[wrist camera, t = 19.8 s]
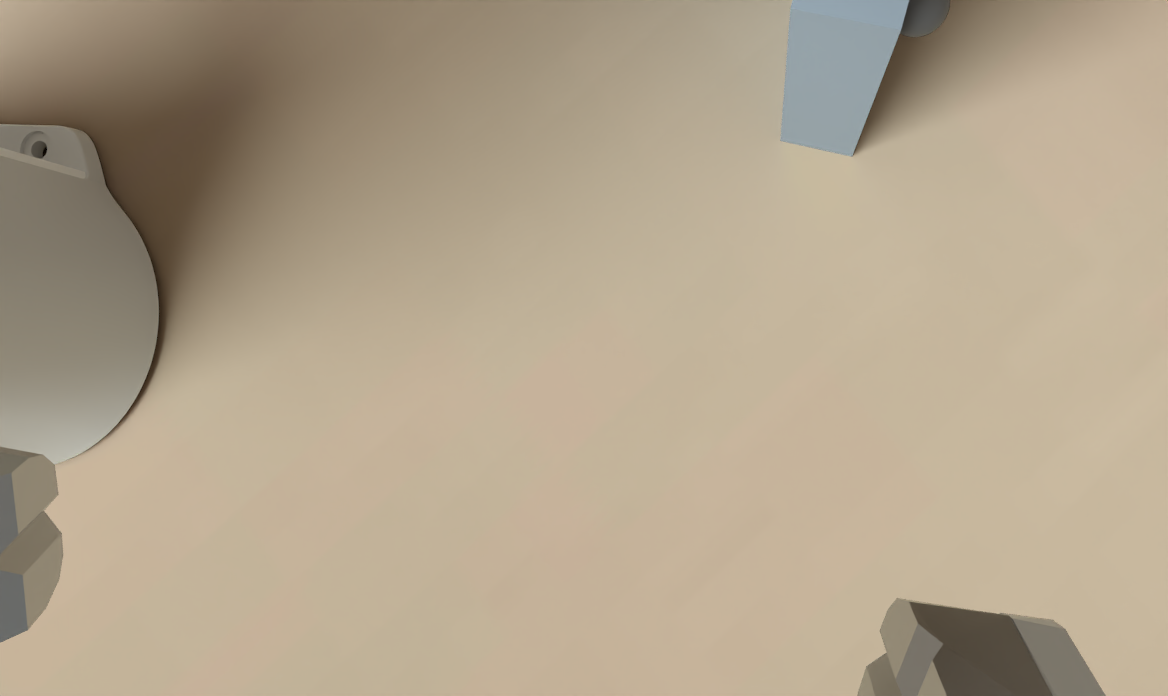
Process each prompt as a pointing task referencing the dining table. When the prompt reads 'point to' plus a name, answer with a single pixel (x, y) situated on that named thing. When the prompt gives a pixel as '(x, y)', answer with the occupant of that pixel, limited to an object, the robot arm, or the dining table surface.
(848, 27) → the door
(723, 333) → the dining table surface
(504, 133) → the dining table surface
